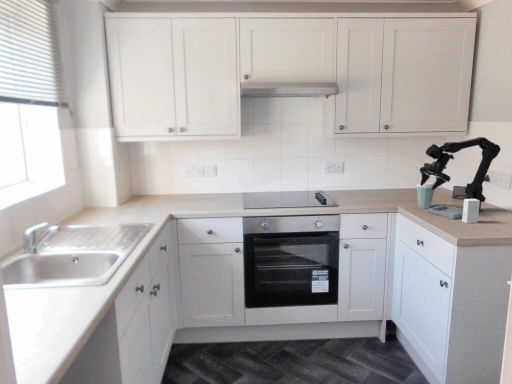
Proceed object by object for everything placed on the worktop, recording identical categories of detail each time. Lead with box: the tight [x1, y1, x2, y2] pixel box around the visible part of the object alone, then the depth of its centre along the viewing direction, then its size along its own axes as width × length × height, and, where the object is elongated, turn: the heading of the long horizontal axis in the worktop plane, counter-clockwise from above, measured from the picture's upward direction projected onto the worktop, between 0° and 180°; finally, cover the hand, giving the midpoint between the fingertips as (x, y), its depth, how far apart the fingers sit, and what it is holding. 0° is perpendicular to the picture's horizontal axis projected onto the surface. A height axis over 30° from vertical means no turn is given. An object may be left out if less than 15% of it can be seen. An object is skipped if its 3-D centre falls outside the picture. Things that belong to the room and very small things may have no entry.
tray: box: [426, 204, 463, 220], centre depth 208 cm, size 16×16×2 cm
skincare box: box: [461, 198, 480, 224], centre depth 192 cm, size 6×4×12 cm
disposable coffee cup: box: [416, 182, 436, 209], centre depth 223 cm, size 11×11×15 cm
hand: (426, 187), depth 209 cm, fingers open, 9 cm apart
